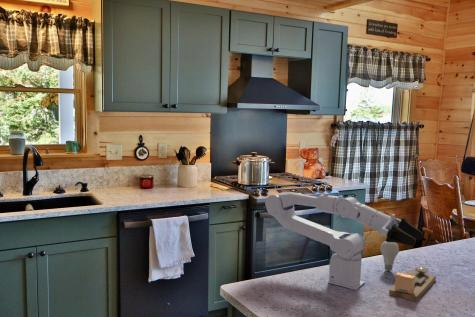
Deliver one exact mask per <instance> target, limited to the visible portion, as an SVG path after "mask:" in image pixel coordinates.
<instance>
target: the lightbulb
mask: <svg viewBox="0 0 475 317" xmlns="http://www.w3.org/2000/svg"><path fill="white" fill-rule="evenodd" d="M379 248H380V253H381V255H382V257H383V263H384V270H385V271H386V272H390V271H393V265H394V264H395V263H394V262H395V259H396V258H397V256H398V254H399V252H400V247H399V245H398V243H395V242H386V240H385V241H383V242H382V243H381V244H380V247H379Z"/></svg>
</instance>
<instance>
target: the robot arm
mask: <svg viewBox="0 0 475 317" xmlns="http://www.w3.org/2000/svg"><path fill="white" fill-rule="evenodd" d="M264 204H265V209H266V211H267V213H268V215H269V216H272V217H274V219H275V220H276V221H277V222H278V223H279V224H280V225H281V226H282V227H283V228H285V229H287V230H290V231H292V232H295V233H297V234H300V235H302V236H304V237H307V238H310V239H312V240H314V241H317V242H319V243H321V244H324V245H327V246H329V247H330V250H331V251H332V252H335V253H333V254H332V255H331V257H330V260H329V266H328V267H329V270H328V280H327V283H328V284H332V285H336V286H340V287H344V288H347V289H350V290H354V291H355V290H358V289H359V288H360V287H361V286H362V285H364V284H365V282H366V281H365V280H361V278H362V277H361V275H362V274H361V273H362V258H363V257H362V251H363V250H364V249H365V246H366V241H365V239H364V237H363V235H361V234H359V233H357V232H356V233H355V232H353V233H352V232H351V233H349V232H347V231H337V230H334V229H331V228H329V227H327V226H324V225H323V224H322V225H321V224H319V223H317V222H313V221H311V220H308V219H305V218H303V217H301V216H299V215H296V211H295V209H296V208H295V205H297V206H305V207H314V208H316V209H317V211H318V212H322V213H327V214H334V215H340V218H343V219H348V218H349V219H351V220H354V221H355V222H358V223H360V224H361V225H363V226H366V227H368V228H371V229H372V230H374V231H377V232H378V233H379V235H380V236H382V237H384V238H386V239H385V241H386V242H395V243H397V244H402V245H406V246H410V247H414V246H415V243H416V241H417V240H419V241H421V240H422V237H423V235H424V233H423V232H422V231H421V230H420V229H419V228H416V227H415V226H414V225H413V224H412V223H411V222H410V221H409V220H408V219H407V218H406V217H405V216H403V217H402V218H401V219H400V218H398V217H396V214H395V213H392V214H391V215H388V214H387V213H384V212H381V211H379V210H377V209H375V208H373V207H371V206H368V205H366V204H363V203H362V202H360V201H359V200H358V199H357V198H356V197H353V196H346V197H344V195H338V196H336V195H332V194H330V193H329V192H324V193H323V194H322V193H321V194H320V195H318V196H314V195H308V194H305V193H304V194H303V193H298V192H293V191H282V192H280V193H276V194H270V195H268V196H267V197H266V199H265V201H264Z"/></svg>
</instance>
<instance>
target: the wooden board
mask: <svg viewBox="0 0 475 317" xmlns="http://www.w3.org/2000/svg"><path fill="white" fill-rule="evenodd" d="M406 274H408V275H409V274H413V276H415V281H419V280H420V279H421V278H422V277H425V278H426V280H425V281H424V282H423V283H422V284H421V285H419V284H416V285H415V286H414V292H413V293H412V294H409V293H404V292H400V291H397V290H395V284H394V285H393V286H392V287H390V289H389V291H388V295H390V296H393V297H397V298H402V299H405V300H408V301H413V302H415V303H417V301H418V300H419V299H420V298H422V296H423V295H424V294H425V292H427V290H428V289H429V288H430V287H431V286H432V284H434V282H435V281H436V280H437V278H436V277H437V276H436V275H434V274H430V273H425V275H424V276H420V275H418V272H417V271H416V270H411V269H410V270H409V271H408V272H407V273H406Z"/></svg>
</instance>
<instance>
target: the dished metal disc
mask: <svg viewBox="0 0 475 317" xmlns="http://www.w3.org/2000/svg"><path fill="white" fill-rule="evenodd" d="M414 271H417V272H418V275H420V276H424V275H425V273H426V274H428V272H429V268H428V267H425V266H422V265H421V266H420V265H416V266H415V268H414Z"/></svg>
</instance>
